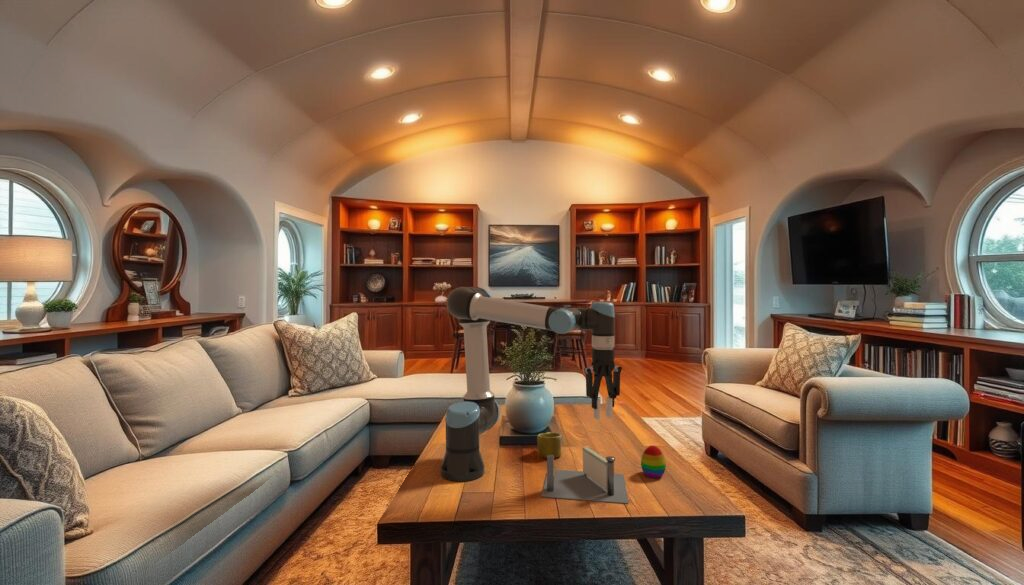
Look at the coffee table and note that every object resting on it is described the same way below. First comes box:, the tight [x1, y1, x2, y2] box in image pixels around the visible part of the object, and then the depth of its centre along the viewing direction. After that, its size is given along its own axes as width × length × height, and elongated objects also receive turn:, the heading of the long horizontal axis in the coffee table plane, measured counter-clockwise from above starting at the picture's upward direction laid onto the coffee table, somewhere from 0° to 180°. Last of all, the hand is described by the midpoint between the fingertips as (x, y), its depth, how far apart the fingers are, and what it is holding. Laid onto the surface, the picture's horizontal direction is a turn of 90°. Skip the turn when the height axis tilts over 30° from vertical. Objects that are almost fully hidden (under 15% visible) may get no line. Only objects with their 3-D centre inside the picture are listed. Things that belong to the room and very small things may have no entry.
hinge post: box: [605, 456, 616, 496], centre depth 143 cm, size 3×3×12 cm
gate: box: [581, 446, 607, 490], centre depth 152 cm, size 15×2×9 cm, turn 20°
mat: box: [540, 469, 629, 505], centre depth 151 cm, size 26×22×1 cm
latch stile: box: [546, 455, 557, 491], centre depth 147 cm, size 3×3×11 cm
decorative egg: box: [640, 445, 667, 479], centre depth 160 cm, size 8×8×10 cm
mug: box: [536, 431, 563, 459], centre depth 179 cm, size 12×10×10 cm
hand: (603, 417), depth 156 cm, fingers open, 4 cm apart
